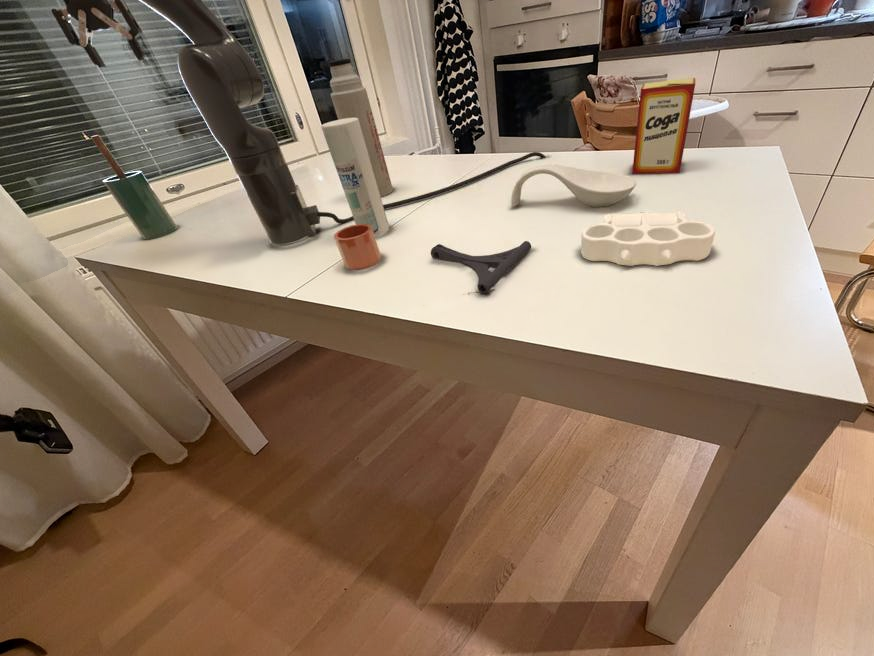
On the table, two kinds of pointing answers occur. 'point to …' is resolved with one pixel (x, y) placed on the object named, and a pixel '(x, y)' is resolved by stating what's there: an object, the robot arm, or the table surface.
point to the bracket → (484, 263)
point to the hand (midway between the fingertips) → (122, 64)
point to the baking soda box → (662, 126)
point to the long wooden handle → (108, 156)
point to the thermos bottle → (359, 116)
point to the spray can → (356, 172)
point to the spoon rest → (582, 184)
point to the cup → (141, 204)
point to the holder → (358, 246)
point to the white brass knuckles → (647, 239)
